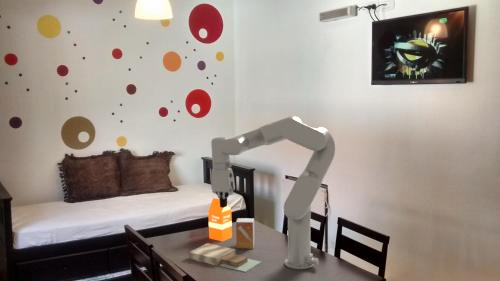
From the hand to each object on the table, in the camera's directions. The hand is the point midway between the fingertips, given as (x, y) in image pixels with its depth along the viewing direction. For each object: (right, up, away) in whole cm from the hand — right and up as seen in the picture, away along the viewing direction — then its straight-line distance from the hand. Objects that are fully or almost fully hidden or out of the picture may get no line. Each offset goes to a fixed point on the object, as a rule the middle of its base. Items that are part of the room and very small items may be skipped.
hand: (223, 206), depth 208 cm
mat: (+7, -24, -5) cm, 26 cm away
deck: (-5, -23, +4) cm, 24 cm away
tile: (+5, -24, -4) cm, 24 cm away
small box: (+10, -22, +17) cm, 29 cm away
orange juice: (-3, -20, +30) cm, 36 cm away
